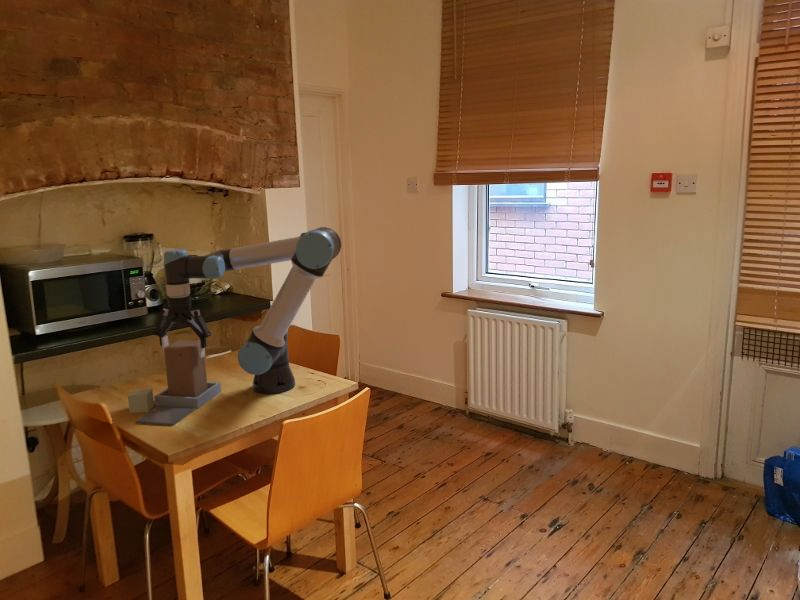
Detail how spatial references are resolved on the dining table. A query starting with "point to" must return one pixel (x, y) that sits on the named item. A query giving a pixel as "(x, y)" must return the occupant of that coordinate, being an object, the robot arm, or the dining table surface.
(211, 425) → the dining table surface
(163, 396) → the blue square frame
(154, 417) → the plate
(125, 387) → the dining table surface
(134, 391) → the sage cube
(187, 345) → the wooden block
